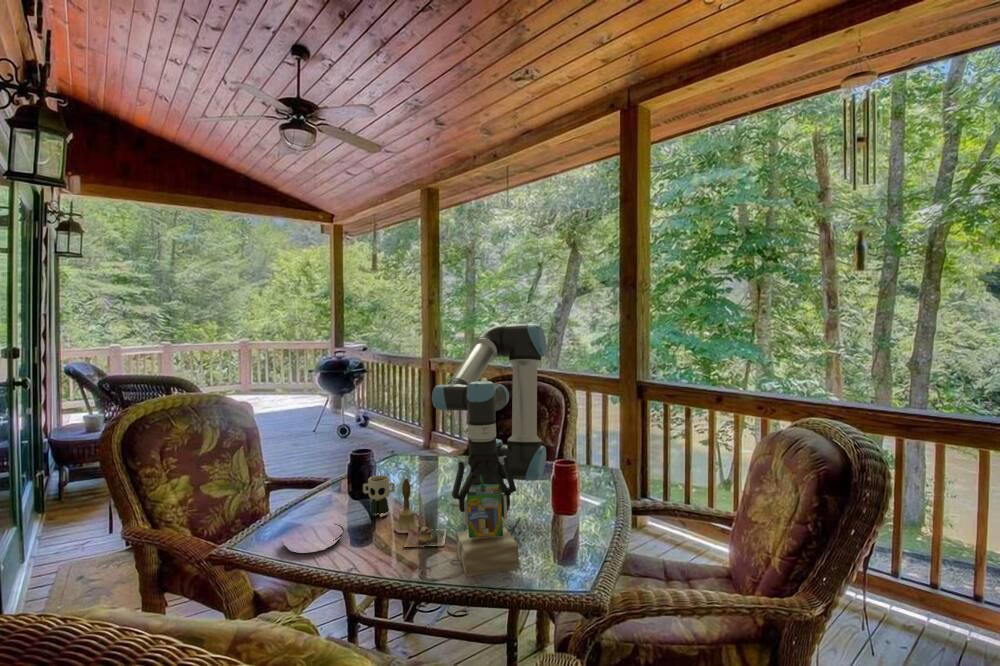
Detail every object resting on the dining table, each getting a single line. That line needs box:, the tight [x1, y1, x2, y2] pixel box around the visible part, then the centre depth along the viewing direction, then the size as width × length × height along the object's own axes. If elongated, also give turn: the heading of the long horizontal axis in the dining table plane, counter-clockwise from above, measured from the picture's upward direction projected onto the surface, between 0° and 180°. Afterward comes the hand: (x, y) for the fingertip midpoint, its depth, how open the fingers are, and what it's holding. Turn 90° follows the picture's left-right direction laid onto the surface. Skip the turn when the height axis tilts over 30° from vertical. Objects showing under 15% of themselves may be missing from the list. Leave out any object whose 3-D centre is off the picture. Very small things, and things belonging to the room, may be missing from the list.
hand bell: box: [395, 478, 420, 530], centre depth 162 cm, size 8×8×16 cm
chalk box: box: [466, 475, 504, 538], centre depth 138 cm, size 9×9×15 cm
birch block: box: [455, 525, 520, 578], centre depth 138 cm, size 14×14×6 cm
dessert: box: [418, 524, 448, 548], centre depth 153 cm, size 12×12×5 cm
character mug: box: [362, 475, 396, 514], centre depth 174 cm, size 11×7×13 cm, turn 90°
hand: (485, 520), depth 138 cm, fingers closed on chalk box, 10 cm apart
